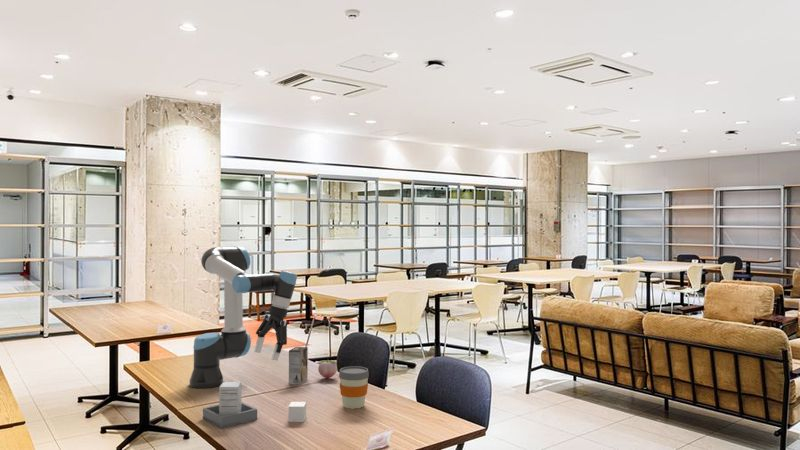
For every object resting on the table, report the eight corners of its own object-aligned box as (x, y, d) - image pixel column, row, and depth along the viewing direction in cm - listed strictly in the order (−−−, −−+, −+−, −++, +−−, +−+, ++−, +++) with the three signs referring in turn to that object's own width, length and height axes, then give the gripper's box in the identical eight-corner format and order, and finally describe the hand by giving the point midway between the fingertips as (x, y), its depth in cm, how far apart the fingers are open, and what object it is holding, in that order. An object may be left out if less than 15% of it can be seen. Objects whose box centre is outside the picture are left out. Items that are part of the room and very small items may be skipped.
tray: (202, 418, 223) (202, 408, 223) (237, 410, 233) (237, 400, 233) (221, 428, 212) (221, 417, 212) (257, 419, 223) (257, 409, 223)
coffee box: (295, 378, 282) (295, 346, 282) (307, 379, 280) (308, 347, 280) (288, 383, 272) (288, 350, 272) (300, 384, 271) (301, 350, 271)
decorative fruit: (337, 376, 287) (337, 356, 287) (336, 380, 279) (336, 360, 279) (319, 376, 287) (319, 356, 287) (317, 380, 278) (317, 360, 278)
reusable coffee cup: (372, 402, 245) (373, 367, 245) (361, 411, 233) (361, 374, 233) (346, 399, 249) (346, 365, 249) (333, 408, 237) (334, 372, 237)
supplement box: (222, 413, 226) (223, 381, 226) (241, 413, 227) (242, 381, 227) (218, 419, 219) (218, 386, 219) (238, 419, 219) (238, 386, 219)
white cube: (303, 422, 220) (304, 406, 220) (288, 422, 220) (288, 406, 220) (306, 416, 226) (306, 401, 226) (291, 416, 226) (291, 401, 226)
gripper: (303, 313, 239) (289, 364, 235) (270, 303, 256) (257, 350, 253) (289, 310, 233) (274, 362, 230) (256, 300, 251) (243, 348, 248)
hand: (265, 356), depth 242 cm, fingers open, 13 cm apart
